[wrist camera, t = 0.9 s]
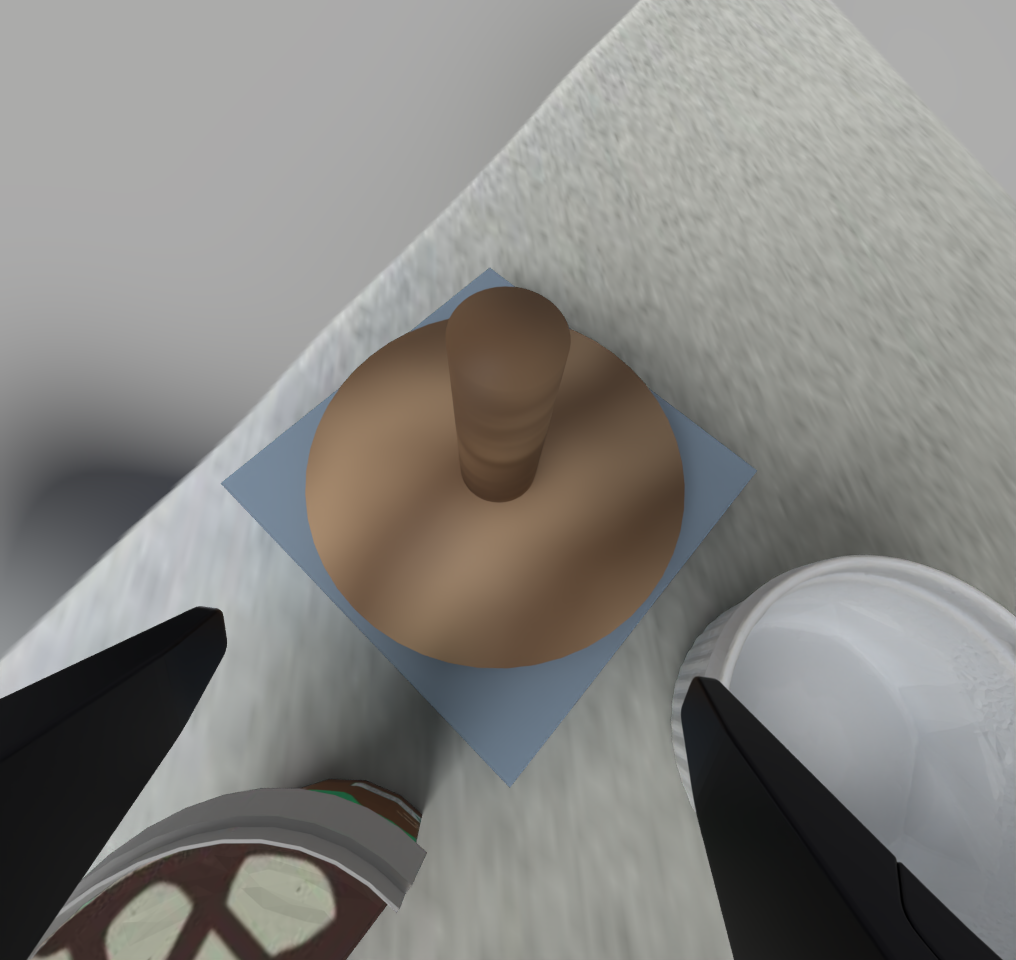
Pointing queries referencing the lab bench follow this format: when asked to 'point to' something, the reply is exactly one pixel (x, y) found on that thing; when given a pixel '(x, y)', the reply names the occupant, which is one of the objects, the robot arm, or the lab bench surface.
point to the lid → (495, 486)
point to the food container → (247, 879)
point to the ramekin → (888, 714)
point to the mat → (469, 690)
